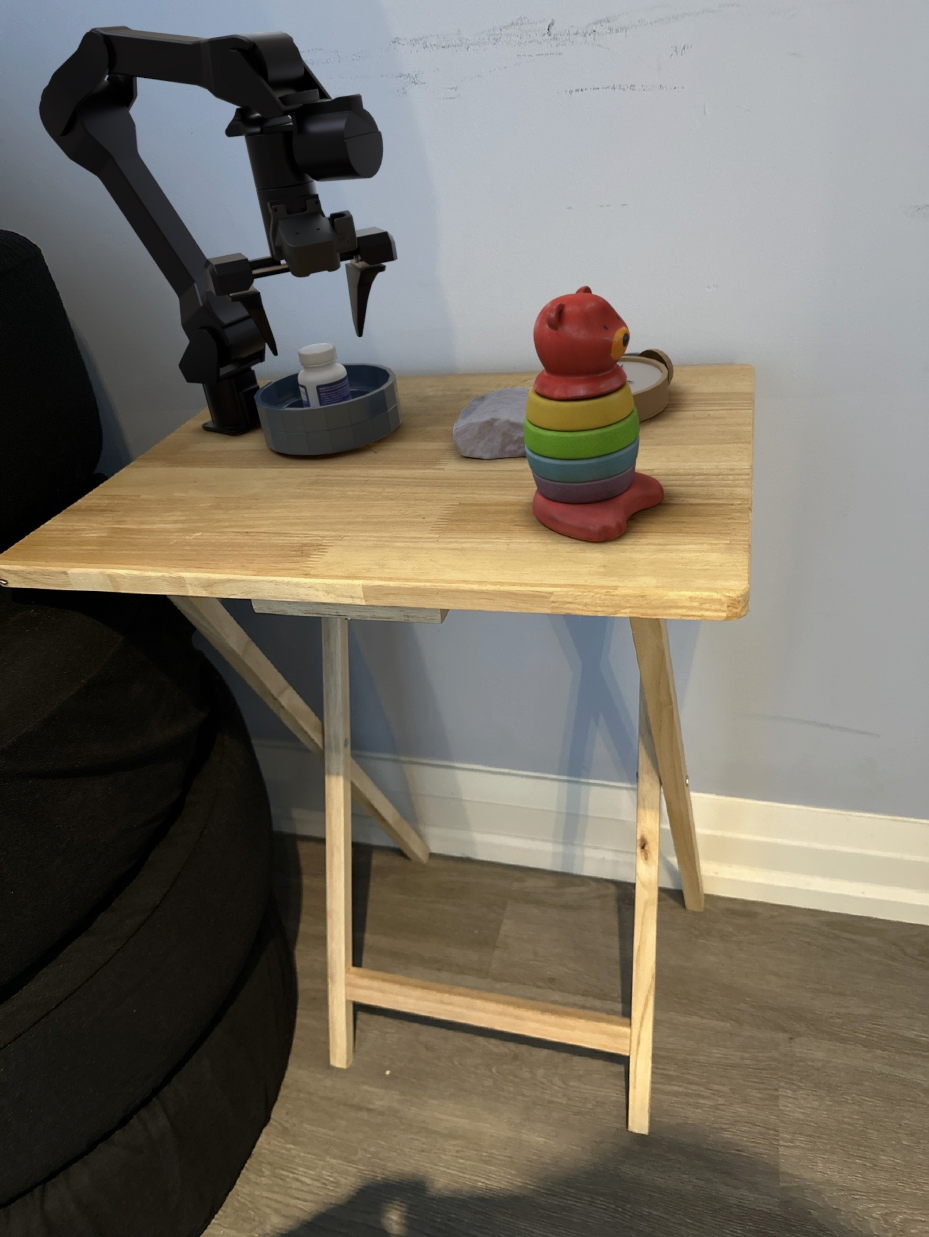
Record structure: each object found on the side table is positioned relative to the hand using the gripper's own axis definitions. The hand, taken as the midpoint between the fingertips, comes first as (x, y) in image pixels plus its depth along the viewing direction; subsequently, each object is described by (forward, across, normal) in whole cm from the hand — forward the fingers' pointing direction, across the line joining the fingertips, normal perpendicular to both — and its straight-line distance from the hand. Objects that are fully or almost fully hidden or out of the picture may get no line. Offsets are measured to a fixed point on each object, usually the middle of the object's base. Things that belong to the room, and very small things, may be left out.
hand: (318, 345), depth 98 cm
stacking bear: (+10, +14, -34) cm, 38 cm away
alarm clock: (+10, +29, -12) cm, 33 cm away
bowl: (+10, 0, 0) cm, 10 cm away
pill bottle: (+9, 0, 0) cm, 9 cm away
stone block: (+10, +15, -14) cm, 22 cm away
